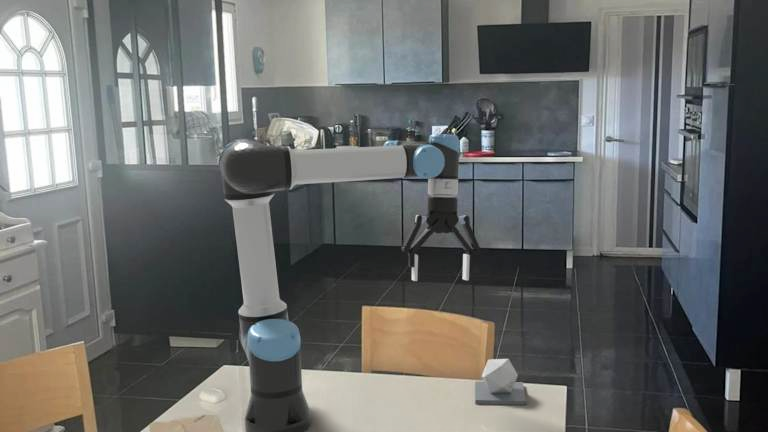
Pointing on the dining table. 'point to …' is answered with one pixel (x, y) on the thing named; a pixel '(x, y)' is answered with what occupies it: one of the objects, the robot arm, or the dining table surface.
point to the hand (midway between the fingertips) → (440, 280)
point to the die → (499, 376)
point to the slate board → (499, 395)
